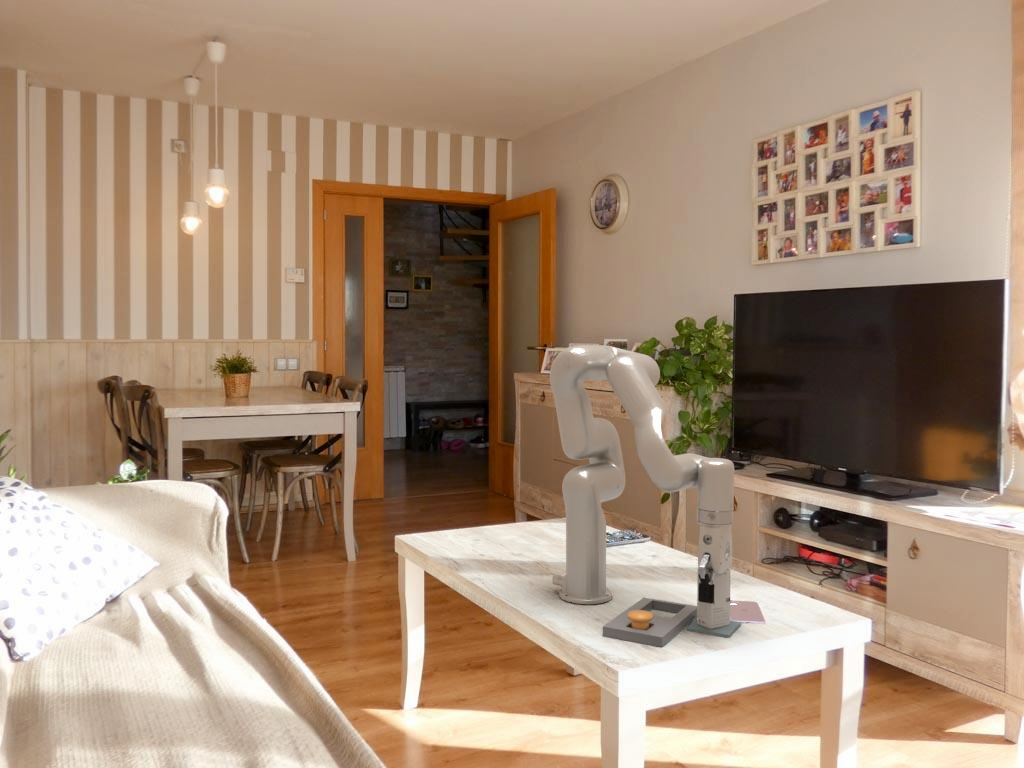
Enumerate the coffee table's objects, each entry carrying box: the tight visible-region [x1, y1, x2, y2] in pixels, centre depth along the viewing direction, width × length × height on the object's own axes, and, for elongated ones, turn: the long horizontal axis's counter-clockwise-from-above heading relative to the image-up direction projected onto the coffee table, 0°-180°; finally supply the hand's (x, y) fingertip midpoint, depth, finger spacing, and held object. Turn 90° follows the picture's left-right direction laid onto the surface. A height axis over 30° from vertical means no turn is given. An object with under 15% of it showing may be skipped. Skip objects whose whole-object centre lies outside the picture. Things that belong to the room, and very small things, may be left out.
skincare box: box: [696, 567, 731, 629], centre depth 182 cm, size 6×4×12 cm
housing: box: [602, 597, 697, 648], centre depth 183 cm, size 13×23×2 cm, turn 150°
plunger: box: [628, 610, 654, 631], centre depth 177 cm, size 5×5×4 cm
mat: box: [686, 618, 742, 639], centre depth 182 cm, size 9×9×1 cm
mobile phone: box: [730, 599, 767, 624], centre depth 192 cm, size 8×1×15 cm
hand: (713, 596), depth 182 cm, fingers open, 9 cm apart
